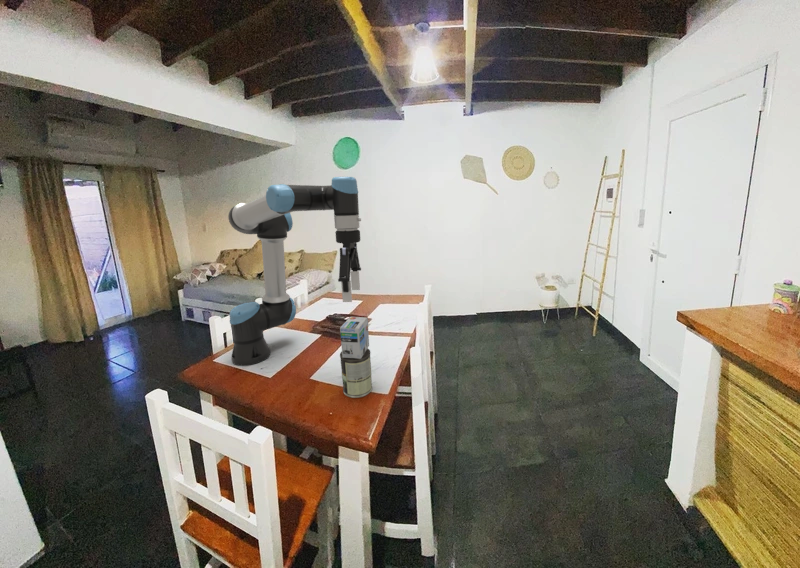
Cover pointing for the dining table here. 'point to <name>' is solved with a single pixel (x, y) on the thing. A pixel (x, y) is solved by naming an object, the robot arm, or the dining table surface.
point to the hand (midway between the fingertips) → (351, 295)
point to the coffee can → (356, 375)
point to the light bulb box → (354, 337)
